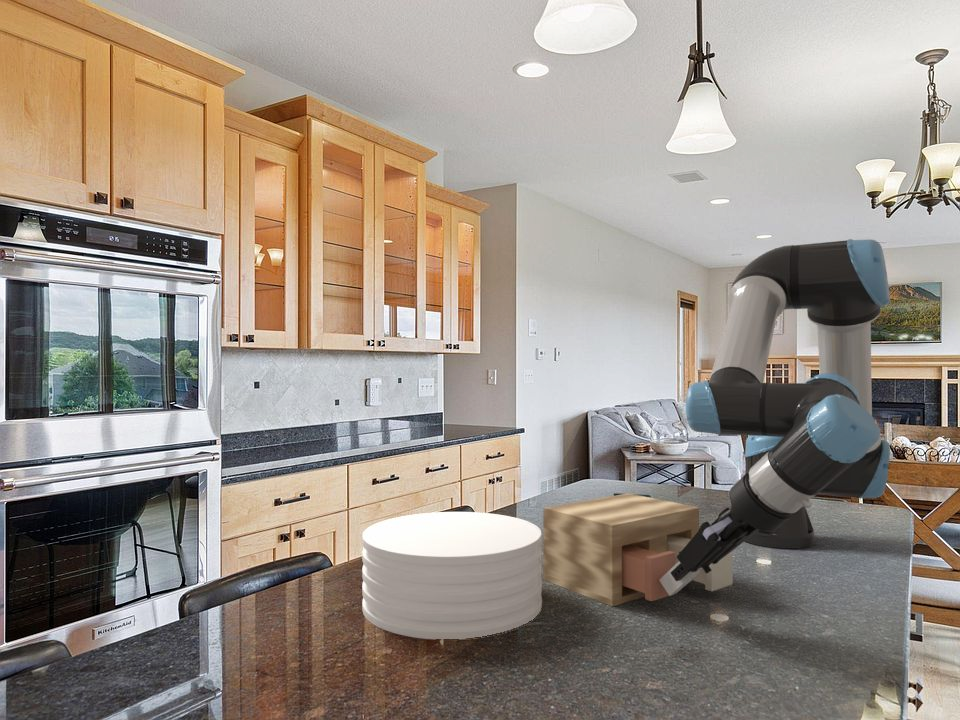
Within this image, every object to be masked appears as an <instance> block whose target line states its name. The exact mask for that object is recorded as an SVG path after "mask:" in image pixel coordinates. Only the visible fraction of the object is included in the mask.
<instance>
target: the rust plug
mask: <svg viewBox="0 0 960 720" xmlns="http://www.w3.org/2000/svg"><path fill="white" fill-rule="evenodd" d="M674 565H675V552H672V551H665V552H662V553H657V552H653V551H650V550H646V549H643V548H639V547H635V546H632V545H624V546H622V586H625V587H628V588H631V589H634V590H636V591H639V592H642V593H645V596H644V600H646V601H650V602H654V601H657V600H659V599H660V600H661V599H663V598H666V597H670V596H669V594H668V593H667V591H666V590H665V588H664V587H663V585H662V584H661V582H660V581H659V579H660V578H662V577H663V576H664V575H665V574H666V573H667V572H668V571H669V570H670V569H671V568H672V567H673V566H674Z"/></svg>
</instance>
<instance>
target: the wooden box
mask: <svg viewBox="0 0 960 720" xmlns="http://www.w3.org/2000/svg"><path fill="white" fill-rule="evenodd" d="M634 494H635V493H630V492H629V493H626V494H622V495H616V496H612V495H611V496H605V497H598V498H593V499H587V500H581V501H575V502H570V503H564V504H558V505H552V506H547V507H545V506H544V507H543V508H542V510H543V511H542V515H543V516H542V517H543V519H542V520H543V521H542V522H543V523H542V524H543V525H542V530H543V536H542V537H543V539H542V541H543V542H542V543H543V544H542V545H543V546H542V547H543V548H542V550H543V551H542V553H543V554H542V555H543V556H542V559H543V565H542V566H543V567H542V570H543V571H542V572H543V573H542V575H543V580H544V581H546V582H548V583H551V584H553V585H556V586H558V587H561V588H563V589H567V590H569V591H571V592H574V593H576V594H579V595H582V596H584V597H586V598H590V599H592V600H593V601H597V602H600V603H602V604H605V605H608V606H611V607H615V606H619V605H621V604H625V603H628V602H632V601H635V600H637V599H641V598H645V593H642V592H639V591H636V590H634V589H631V588H628V587H625V586H622V546H624V545H632V546H635V547H639V548H643V549H646V550H650V551H653V552H657V553H662V552H665V551H667V535H670V534H671V535H676V536H680V537H684V538H688V539H692V538H693V537H694V536H695V535H696V533H697V532H698V531H699V528H700V507H699V506H695V505H689V504H684V503H678V502H674V501H669V500H664V499H658V498H654V497H653V498H649V497H644V496H639V495H634ZM692 581H693V580H691V581H690V582H689V583H692ZM693 582H694V581H693Z"/></svg>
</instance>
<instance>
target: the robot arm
mask: <svg viewBox="0 0 960 720" xmlns="http://www.w3.org/2000/svg"><path fill="white" fill-rule="evenodd" d="M890 297H891V296H890V288H889V281H888V273H887V267H886V261H885V255H884V251H883V247H882V245H881V243H880V242H879V241H877V240H875V239H852V238H851V239H850V238H848V239H847V240H836V241H827V242H816V243H806V244H795V245H794V244H790V245H783V246H780V247H779V246H778V247H775V248H772V249H770V250H769V251H766V252H764V253H762V254H761V255H759V256H757V258H755V259H753V260H751V261H750V263H748V264H747V265H746V266H744V268H743V269H742V270H741V271H740V273H738V274H737V276H736V277H735V279H734V280H733V282H732V285H731V286H730V290H729V293H728V299H727V302H728V305H729V308H730V310H729V313H728V317H727V319H726V323H725V328H724V330H723V332H722V333H723V334H722V337H721V340H720V344H719V345H718V346H719V347H718V350H717V353H716V356H715V359H714V363H713V365H712V370H711V373H710V375H709V380H704V381H702V382H701V381H699V382H693V383H692V384H690V385H689V387H688V388H687V391H686V395H685V396H686V397H685V415H686V421H687V425H688V427H689V428H690V429H691V430H692V431H693V432H696V433H706V434H713V435H717V436H718V435H719V436H720V435H723V436H724V435H725V436H748V437H747V438H746V440H745V451H744V453H745V454H744V458H745V459H744V462H745V463H744V464H745V474H744V475H743V476H742V477H741V478H740V479H738V481H736V483H734V485H732V487H730V490H729V494H728V495H729V501H730V506H731V507H730V508H729V507H726V508H724V509H722V511H721V512H720V513H719V514H718V517H717V518H716V519H715V520H714V521H713V522H712V523H710V522H709V521H704V522H703V523H701V525H699V531H698V532H697V533H696V535H695V536H694V537H693V538H692V539H691V540H690V542H689V543H688V544H687V545H686V546H685V548H684V549H683V550H682V551H681V552H679V554H678V556H677V558H678V560H679V562H678V563H677V564H675V565H674V566H673V567H672V568H671V569H670V570H669V571H668V572H667V573H666V574H665V575H664V576H663V577H662V578H660V579H659V581H660V582H661V584H662V585H663V587H664V588H665V590H666V591H667V593H668V594H669V596H668V597H671V596H674V595H676V594H678V592H680V591H681V590H682V589H683V588H684V587H686V586H687V585H688V584H690V583H691V582H690V581H691V580H692V579H693V578H694V577H695V576H696V575H698V574H699V573H700V572H701V571H702V570H701V569H700V568H701V567H702V568H703V570H704V571H705V573H709V572H710V571H712V570H711V568H710V567H709V565H710V564H711V563H712V564H716V563H718V561H720V560H721V559H722V558H723V557H725V556H726V555H727V554H729V553H730V552H731V551H734V550H735V549H736V548H738V547H739V546H740V545H741V544H743V543H744V542H746V543H748V544H752V545H757V546H762V547H769V548H774V549H775V548H777V549H802V548H803V549H804V548H810V547H812V546H814V545H815V541H816V540H815V539H816V538H815V537H816V535H815V530H814V527H813V524H812V521H811V519H810V515H809V513H808V510H807V509H808V508H810V507H812V505H813V503H812V502H811V501H810V500H811V499H813V498H814V497H816V496H817V495H823V496H824V495H825V496H835V497H844V498H845V497H846V498H855V499H878V498H879V497H881V496H883V494H884V492H885V491H886V488H887V487H886V486H887V482H888V476H889V466H890V465H889V464H890V457H891V456H890V455H891V446H890V443H889V442H888V441H886V440H883V439H882V434H881V429H880V426H879V424H877V422H876V420H875V417H873V405H872V404H873V403H872V399H873V398H872V395H873V394H872V387H873V386H872V333H871V332H872V326H871V325H872V324H871V323H873V322H874V321H875V320H877V319H878V318H879V316H880V315H881V308H882V307H885V306H888V305H889V304H890V301H891V298H890ZM806 309H807V311H806V312H807V318H808V320H809V321H810V322H811V323H812V324H815V325H816V326H817V327H816V328H817V343H818V345H817V346H818V362H819V363H818V365H819V374H817V375H814V376H812V377H810V378H809V379H807V380H806V381H805V382H803V383H802V382H801V383H798V382H791V383H790V382H789V383H788V382H787V383H786V382H765V381H764V379H765V375H766V370H767V365H768V360H769V356H770V352H771V351H770V350H771V346H772V341H773V337H774V331H775V327H776V322H777V318H778V317H779V316H780V315H781V314H782V313H783V311H784V310H785V311H786V310H806Z"/></svg>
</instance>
